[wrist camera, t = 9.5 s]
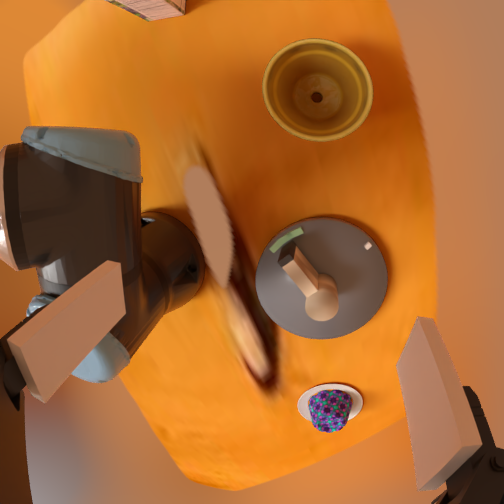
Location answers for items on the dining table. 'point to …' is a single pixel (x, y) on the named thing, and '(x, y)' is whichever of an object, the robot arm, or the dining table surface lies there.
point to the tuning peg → (310, 283)
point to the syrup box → (152, 8)
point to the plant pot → (317, 90)
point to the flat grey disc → (324, 262)
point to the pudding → (330, 406)
